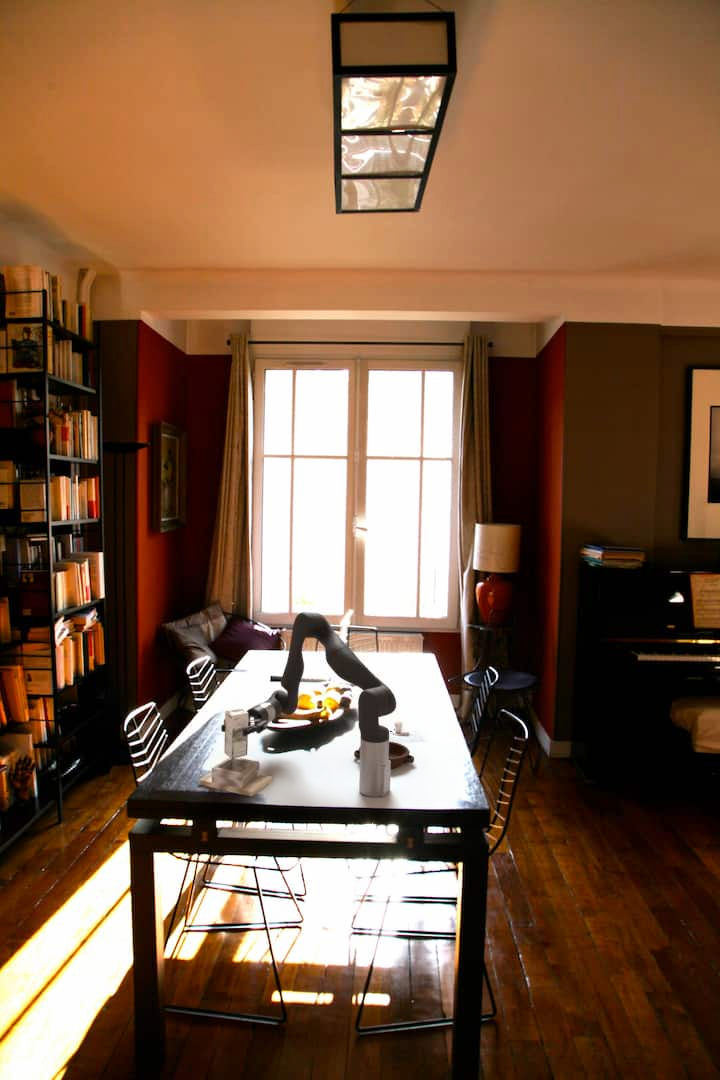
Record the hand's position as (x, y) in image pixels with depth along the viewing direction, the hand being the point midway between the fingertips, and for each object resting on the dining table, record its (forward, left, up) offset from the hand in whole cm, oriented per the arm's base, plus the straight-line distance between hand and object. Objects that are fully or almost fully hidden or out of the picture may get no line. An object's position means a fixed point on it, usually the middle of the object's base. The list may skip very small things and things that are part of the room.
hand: (233, 731), depth 194 cm
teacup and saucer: (-33, -68, -18) cm, 78 cm away
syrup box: (0, -2, -9) cm, 9 cm away
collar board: (0, -2, -18) cm, 18 cm away
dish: (-38, -39, -18) cm, 57 cm away
